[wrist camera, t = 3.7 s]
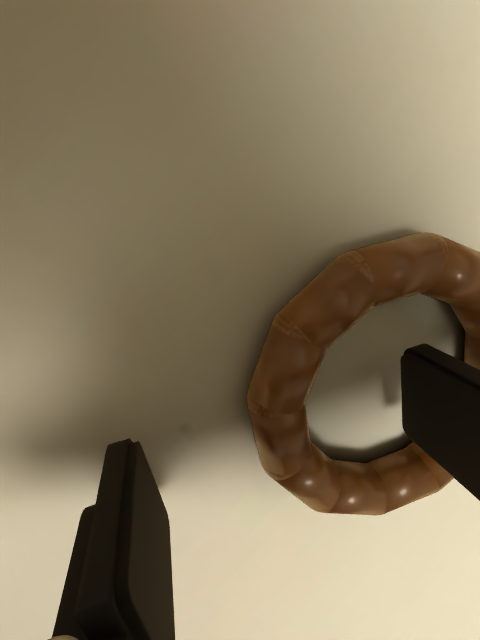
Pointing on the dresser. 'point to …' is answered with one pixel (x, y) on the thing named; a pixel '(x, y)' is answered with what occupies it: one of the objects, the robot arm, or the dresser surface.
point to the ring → (308, 351)
